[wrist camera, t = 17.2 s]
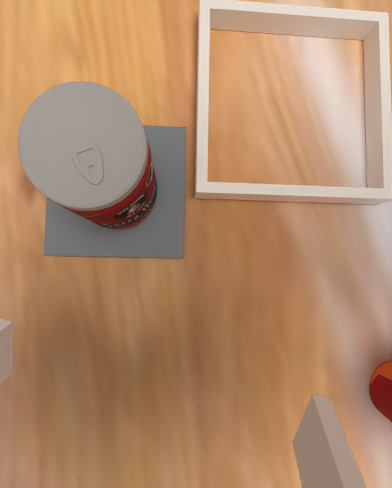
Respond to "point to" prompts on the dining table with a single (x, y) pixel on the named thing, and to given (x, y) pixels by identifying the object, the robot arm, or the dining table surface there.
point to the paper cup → (382, 389)
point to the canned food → (89, 154)
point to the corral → (316, 25)
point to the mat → (142, 234)
